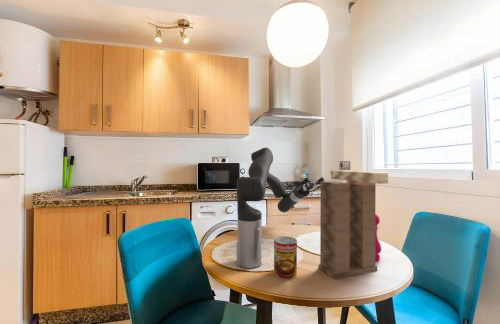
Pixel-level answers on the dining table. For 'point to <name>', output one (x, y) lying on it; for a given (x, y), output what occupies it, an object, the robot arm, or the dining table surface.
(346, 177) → the birch bar
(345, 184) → the walnut rack
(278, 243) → the canned food
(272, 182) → the robot arm
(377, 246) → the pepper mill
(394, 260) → the dining table surface
